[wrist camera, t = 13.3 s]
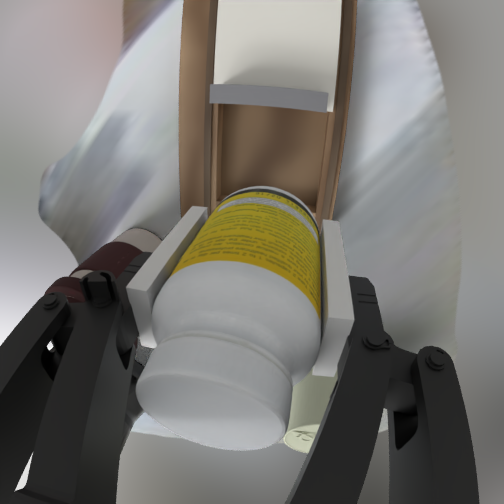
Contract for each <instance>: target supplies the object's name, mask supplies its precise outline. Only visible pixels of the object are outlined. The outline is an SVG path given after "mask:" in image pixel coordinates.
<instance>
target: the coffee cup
mask: <svg viewBox="0 0 504 504" xmlns="http://www.w3.org/2000/svg"><path fill="white" fill-rule="evenodd" d="M161 242H162V241H161V240H160V239H159V238H158V237H157V236H156V235H155V234H153V233H151V232H149V231H147V230H144V229H138V228H134V229H129V230H127V231H125V232H123V233H122V234H121V235H120V236H118V237H117V238H116V239H115V240H113V241H112V242H110V243H108V244H106V245H104V246H103V247H101V248H100V249H99V250H98V251H96V252H95V253H94V254H93V255H91V256H90V257H89V258H88V259H87V260H85V261H84V262H83V263H82V264H81V265H79V266H78V267H77V268H76V269H75V270H74V271H73V272H72V273H71V274H70V275H69V277H62V278H59V279H58V280H56V281H55V282H54V283H53V284H52V285H51V286H50V287H49V288H48V289H47V291H46V292H45V294H44V295H46V294H48V293H51V292H61V293H64V294H65V296H66V297H67V300H68V302H69V303H82V302H85V298H84V295H83V292H82V289H81V286H80V283H79V281H80V280H81V278H82V277H83V276H85V275H86V274H88V273H90V272H93V271H97V270H107V271H110V272H112V273H113V274H114V276H115V279H117V278H118V277H119V276H120V274H121V273H122V272H124V270H125V268H126V267H127V266H129V264H130V263H131V261H132V260H133V259H134V258H135V257H136V256H138V255H140V254H141V253H143V252H154V251H155V250H156V248H157V247H158V246H159V245H160V244H161ZM137 343H138V339H136V340H135V342H134V345H135V348H137Z"/></svg>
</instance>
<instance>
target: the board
mask: <svg viewBox="0 0 504 504" xmlns="http://www.w3.org/2000/svg"><path fill="white" fill-rule="evenodd" d="M217 13H218V0H184V3H183V16H182V32H181V50H180V77H179V175H180V203H181V219H182V217H183V216H184V215H185V214H186V213H187V212H188V210H189V209H190V208H191V207H192V206H199V207H207V214H208V218H209V216H210V215H211V214H212V212H213V211H214V209H215V208H216V207H217V206H218V205H219V204H220V202H221V201H222V200H224V199H225V198H226V197H227V196H229V195H230V194H232V193H234V192H236V191H238V190H241V189H244V188H248V187H254V186H269V187H275V188H278V189H281V190H284V191H286V192H289V193H290V194H292V195H294V196H295V197H297V198H298V199H300V200H301V201H302V202H303V203H304V204H305V205H306V206H307V207H308V208H309V210H310V211H311V213H312V214H313V216H314V218H315V220H316V222H317V225H318V228H319V233H320V235H321V228H322V221H323V219H324V220H332V216H333V210H334V204H335V199H336V193H337V187H338V181H339V174H340V168H341V161H342V155H343V148H344V141H345V133H346V125H347V117H348V109H349V100H350V91H351V81H352V71H353V59H354V47H355V32H356V14H357V0H342V4H341V23H340V39H339V53H338V65H337V76H336V87H335V97H334V106H333V112H329V111H327V113H324V112H316V111H309V110H301V109H292V108H282V107H271V106H258V105H243V104H218V103H210V84H214V64H215V45H216V28H217Z"/></svg>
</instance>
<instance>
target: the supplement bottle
mask: <svg viewBox="0 0 504 504" xmlns="http://www.w3.org/2000/svg"><path fill="white" fill-rule="evenodd" d="M151 326H152V332H153V336H154V339H155V342H156V344H157V346H156V348H155V349H154V350H153V351H152V353H151V354H150V356H149V359H148V361H147V363H146V365H145V367H144V369H143V371H142V373H141V375H140V377H139V379H138V381H137V384H136V396H137V400H138V402H139V404H140V405H141V407H142V408H143V410H144V411H145V412H146V413H147V414H148V415H149V416H150V417H151V418H152V419H153V420H154V421H155V422H157V423H158V424H160V425H161V426H162V427H164V428H166V429H167V430H169V431H170V432H172V433H174V434H176V435H178V436H180V437H182V438H185V439H187V440H190V441H193V442H195V443H199V444H202V445H205V446H209V447H214V448H219V449H226V450H256V449H261V448H265V447H268V446H271V445H273V444H275V443H277V442H278V441H280V440H281V439H282V438H283V437H284V435H285V434H286V432H287V429H288V425H289V418H290V411H291V403H292V392H293V387H294V386H295V385H296V384H298V383H299V382H301V381H302V380H303V379H304V378H305V377H306V376H307V375H308V374H309V372H310V371H311V369H312V368H313V366H314V364H315V363H316V360H317V358H318V355H319V350H320V345H321V247H320V233H319V228H318V225H317V222H316V220H315V218H314V216H313V214H312V213H311V211H310V210H309V208H308V207H307V206H306V205H305V204H304V203H303V202H302V201H301V200H300V199H298V198H297V197H295V196H294V195H292V194H290V193H289V192H286V191H284V190H281V189H278V188H275V187H269V186H254V187H248V188H244V189H241V190H238V191H236V192H234V193H232V194H230V195H229V196H227V197H226V198H225V199H224V200H222V201H221V202H220V204H219V205H218V206H217V207H216V208H215V209H214V211H213V212H212V214H211V215H210V216H209V218H208V219H207V221H206V222H205V224H204V225H203V226H202V228H201V229H200V231H199V232H198V234H197V235H196V237H195V238H194V240H193V241H192V242H191V244H190V245H189V247H188V248H187V250H186V252H185V253H184V255H183V256H182V257H181V259H180V260H179V262H178V263H177V265H176V266H175V268H174V270H173V271H172V272H171V273H170V275H169V276H168V278H167V280H166V281H165V283H164V285H163V287H162V289H161V290H160V292H159V294H158V296H157V298H156V300H155V303H154V306H153V310H152V318H151Z"/></svg>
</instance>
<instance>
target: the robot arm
mask: <svg viewBox="0 0 504 504" xmlns="http://www.w3.org/2000/svg"><path fill="white" fill-rule="evenodd" d="M207 219H208V214H207V207H199V206H192V207H191V208H190V209H189V210H188V212H187V213H186V214H185V215H184V216H183V217H182V219H181V220H180V221H179V222H178V223H177V224H176V226H175V227H174V228H173V229H172V230H171V232H170V233H169V234H168V235H167V236H166V238H165V239H164V240H163V241H162V242H161V244H160V245H159V246H158V247H157V248H156V250H155V251H154V252H143V253H141V254H140V255H138V256H136V257H135V258H134V259H133V260H132V261H131V263H130V264H129V266H127V267H126V268H125V270H124V272H122V273H121V274H120V276H119V277H118V278H117V279H115V276H114V274H113V273H112V272H110V271H107V270H97V271H93V272H90V273H88V274H86V275H85V276H83V277H82V278H81V280H80V281H79V283H80V286H81V289H82V292H83V295H84V298H85V302H82V303H69V302H68V300H67V297H66V296H65V294H64V293H61V292H51V293H48V294H46V295H44V296H43V297H41V298H40V299H39V300H38V301H37V303H36V304H35V305H34V306H33V307H32V308H31V309H30V310H29V312H28V313H27V314H26V315H25V316H24V318H23V319H22V320H21V321H20V322H19V324H18V325H17V326H16V327H15V328H14V330H13V331H12V332H11V333H10V335H9V336H8V337H7V338H6V340H5V341H4V342H3V343H2V345H1V346H0V504H116V493H117V481H118V469H119V460H120V454H121V452H122V450H123V447H124V445H125V443H126V440H127V438H128V436H129V433H130V431H131V429H132V427H133V424H134V422H135V421H136V420H137V419H138V418H139V417H140V416H141V415H142V414H143V413H144V412H145V411H144V410H143V408H142V407H141V405H140V404H139V402H138V400H137V396H136V384H137V381H138V379H139V377H140V375H141V373H142V371H143V369H144V367H143V366H142V365H140V364H139V363H138V362H136V361H135V354H136V348H135V345H134V342H135V340H136V339H137V337H138V335H139V338H140V342H141V345H142V346H145V347H149V348H153V349H155V348H156V346H157V344H156V342H155V339H154V336H153V332H152V326H151V318H152V310H153V306H154V303H155V300H156V298H157V296H158V294H159V292H160V290H161V289H162V287H163V285H164V283H165V281H166V280H167V278H168V276H169V275H170V273H171V272H172V271H173V270H174V268H175V266H176V265H177V263H178V262H179V260H180V259H181V257H182V256H183V255H184V253H185V252H186V250H187V248H188V247H189V245H190V244H191V242H192V241H193V240H194V238H195V237H196V235H197V234H198V232H199V231H200V229H201V228H202V226H203V225H204V224H205V222H206V221H207ZM320 247H321V345H320V350H319V355H318V358H317V360H316V363H315V364H314V366H313V371H312V375H317V376H328V377H334V376H335V373H336V370H337V375H338V379H337V381H336V383H335V386H334V388H333V391H332V393H331V395H330V400H329V402H328V405H327V408H326V411H325V413H324V416H323V418H322V421H321V424H320V426H319V429H318V431H317V434H316V436H315V438H314V441H313V443H312V446H311V448H310V450H309V453H308V455H307V457H306V460H305V462H304V464H303V466H302V468H301V471H300V473H299V475H298V477H297V479H296V482H295V484H294V486H293V488H292V490H291V492H290V494H289V496H288V498H287V500H286V502H285V504H357V501H358V499H359V495H360V493H361V490H362V486H363V484H364V480H365V477H366V474H367V471H368V467H369V464H370V461H371V457H372V454H373V450H374V446H375V442H376V439H377V434H378V431H379V426H380V422H381V418H382V413H383V409H384V408H385V409H387V413H388V430H389V455H390V456H389V459H390V460H389V461H390V484H389V504H479V493H478V483H477V473H476V465H475V458H474V452H473V446H472V440H471V434H470V429H469V424H468V419H467V415H466V410H465V405H464V401H463V397H462V393H461V389H460V385H459V381H458V378H457V374H456V370H455V367H454V363H453V361H452V359H451V357H450V356H449V354H448V353H447V352H446V351H444V350H442V349H441V348H439V347H434V346H427V347H424V348H422V349H421V350H420V351H419V353H418V354H415V353H412V352H409V351H405V350H403V349H400V348H398V347H396V346H395V345H394V342H393V340H392V338H391V337H390V335H388V334H387V333H386V332H385V331H384V329H383V324H382V319H381V315H380V310H379V306H378V301H377V297H376V293H375V289H374V286H373V285H372V283H371V282H370V281H369V280H368V278H364V277H355V276H348V270H347V264H346V258H345V252H344V246H343V241H342V235H341V230H340V224H339V221H332V220H324V219H323V221H322V228H321V235H320ZM50 341H51V342H52V344H53V346H54V347H53V348H52V349H51V350H50V351H49V350H48V348H47V345H48V343H49V342H50ZM32 453H33V455H32ZM31 455H32V460H31V464H30V470H29V474H28V480H27V483H26V485H25V487H24V488H23V489H20V490H17V491H15V489H16V487H17V484H18V482H19V480H20V478H21V475H22V474H23V471H24V469H25V467H26V465H27V463H28V461H29V459H30V457H31ZM14 491H15V492H14Z"/></svg>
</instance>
